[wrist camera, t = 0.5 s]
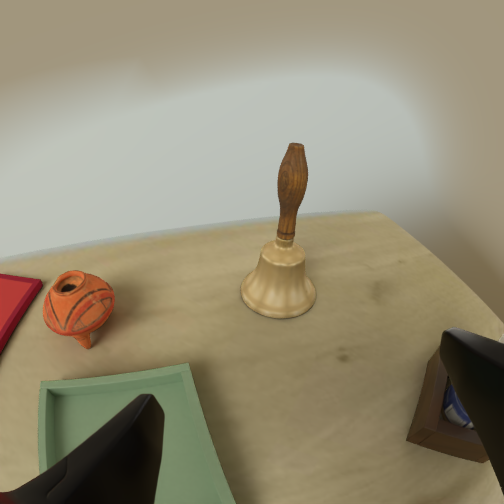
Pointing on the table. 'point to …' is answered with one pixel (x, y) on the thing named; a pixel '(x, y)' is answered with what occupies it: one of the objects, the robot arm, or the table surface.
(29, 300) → the red board with handle
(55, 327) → the pot
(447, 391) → the pill bottle
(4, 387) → the table surface
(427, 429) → the bottle holder
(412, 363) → the table surface
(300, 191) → the hand bell
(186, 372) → the tray
